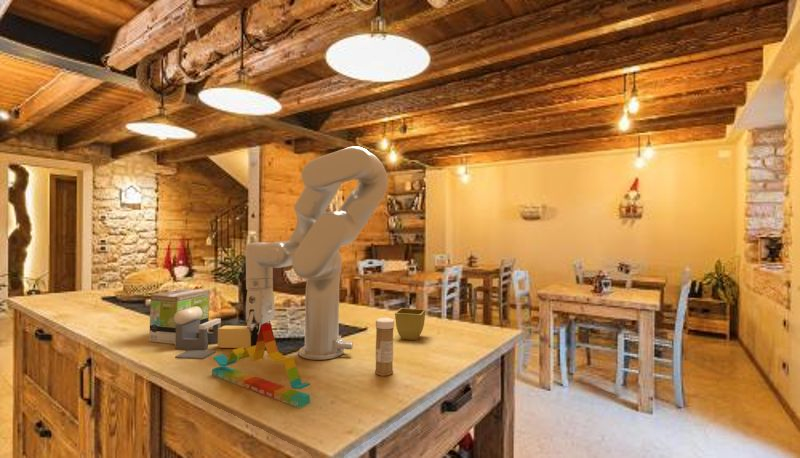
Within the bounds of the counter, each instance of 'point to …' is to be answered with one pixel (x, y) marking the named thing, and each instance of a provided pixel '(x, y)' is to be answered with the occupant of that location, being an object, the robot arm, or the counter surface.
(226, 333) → the tan wooden block
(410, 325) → the flower pot
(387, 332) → the sprinkles bottle
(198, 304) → the tea box
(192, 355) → the mat
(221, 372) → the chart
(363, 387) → the counter surface
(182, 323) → the dispenser
